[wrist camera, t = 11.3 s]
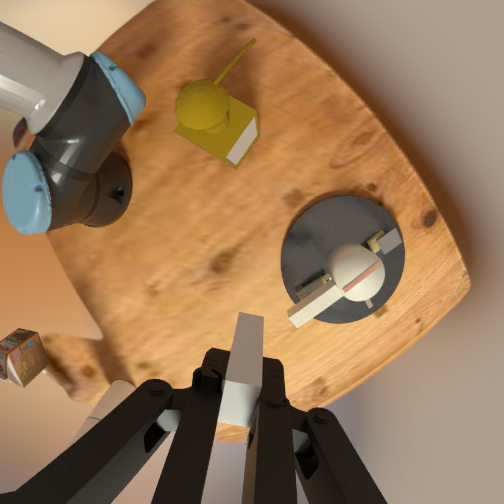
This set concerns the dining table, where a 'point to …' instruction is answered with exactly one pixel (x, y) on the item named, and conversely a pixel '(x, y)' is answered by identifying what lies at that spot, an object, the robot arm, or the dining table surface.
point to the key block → (343, 279)
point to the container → (105, 406)
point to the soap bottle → (217, 118)
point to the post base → (331, 235)
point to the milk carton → (22, 357)
